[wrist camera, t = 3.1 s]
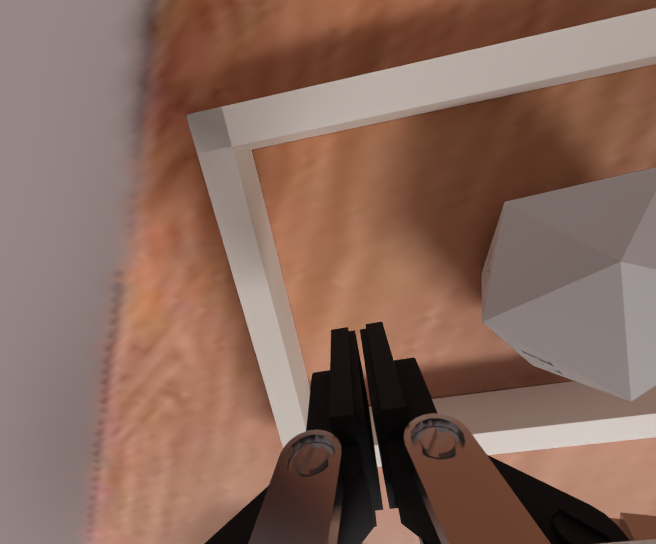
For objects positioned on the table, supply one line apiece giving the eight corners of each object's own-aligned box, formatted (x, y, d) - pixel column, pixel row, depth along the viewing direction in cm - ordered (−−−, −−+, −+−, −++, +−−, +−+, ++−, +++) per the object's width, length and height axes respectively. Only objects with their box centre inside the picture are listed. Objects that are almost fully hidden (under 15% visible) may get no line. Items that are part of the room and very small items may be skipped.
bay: (674, 21, 14) (759, -16, 11) (636, 394, 20) (686, 433, 17) (213, 123, 16) (185, 114, 13) (298, 434, 22) (291, 475, 19)
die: (438, 193, 17) (445, 375, 12) (659, 74, 12) (872, 320, 6) (508, 270, 21) (537, 433, 16) (697, 211, 16) (844, 431, 10)
